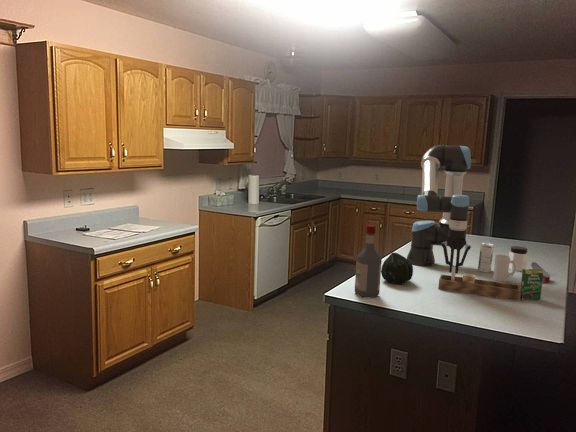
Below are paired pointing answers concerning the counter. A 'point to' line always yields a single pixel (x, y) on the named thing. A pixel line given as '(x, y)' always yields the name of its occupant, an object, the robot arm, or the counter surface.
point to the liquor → (368, 267)
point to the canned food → (545, 274)
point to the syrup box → (485, 257)
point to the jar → (518, 257)
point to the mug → (502, 267)
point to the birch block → (468, 278)
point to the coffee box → (531, 284)
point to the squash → (397, 269)
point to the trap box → (481, 287)
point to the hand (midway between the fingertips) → (452, 279)
